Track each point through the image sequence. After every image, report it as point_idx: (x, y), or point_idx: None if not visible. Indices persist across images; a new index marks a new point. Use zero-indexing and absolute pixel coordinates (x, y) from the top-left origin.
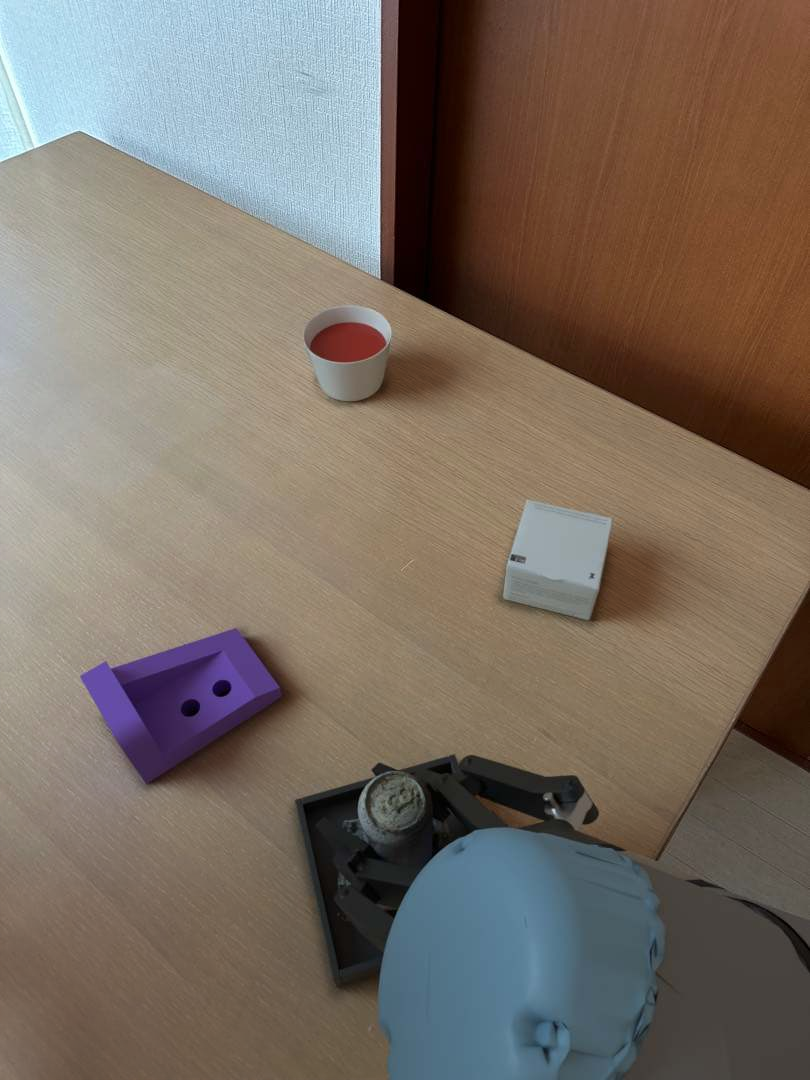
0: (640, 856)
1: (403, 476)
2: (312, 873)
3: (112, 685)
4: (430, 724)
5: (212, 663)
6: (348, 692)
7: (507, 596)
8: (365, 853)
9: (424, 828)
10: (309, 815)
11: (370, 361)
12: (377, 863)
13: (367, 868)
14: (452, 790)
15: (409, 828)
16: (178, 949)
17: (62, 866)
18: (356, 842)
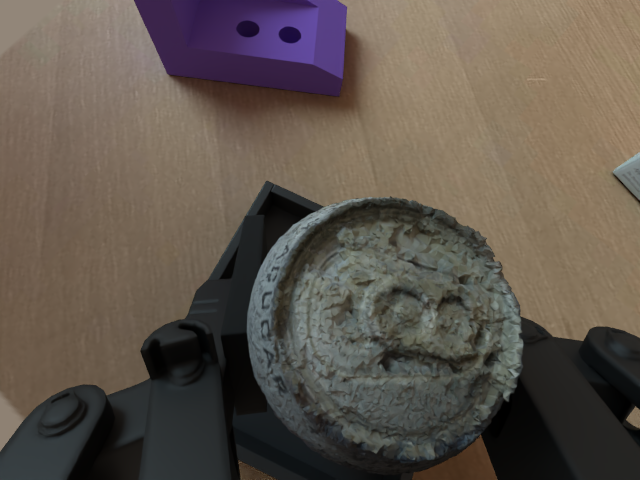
0: None
1: (585, 12)
2: (218, 267)
3: None
4: None
5: (300, 10)
6: (399, 138)
7: (623, 171)
8: (232, 343)
9: (423, 469)
10: (273, 210)
11: None
12: (210, 424)
13: (180, 405)
14: (572, 406)
15: (380, 457)
16: (61, 227)
17: (45, 81)
18: (245, 297)
